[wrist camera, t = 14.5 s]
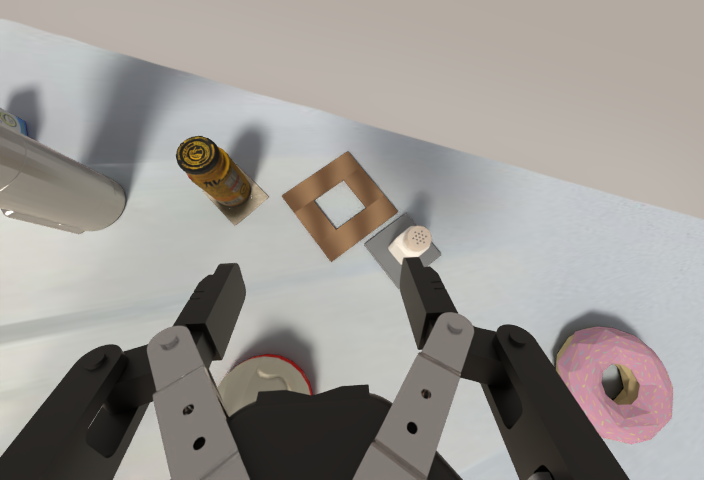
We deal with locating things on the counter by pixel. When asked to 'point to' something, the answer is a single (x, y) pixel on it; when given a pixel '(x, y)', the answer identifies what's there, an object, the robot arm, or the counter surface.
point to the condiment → (219, 178)
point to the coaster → (384, 256)
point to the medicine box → (12, 121)
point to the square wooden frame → (356, 227)
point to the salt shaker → (410, 243)
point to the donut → (637, 375)
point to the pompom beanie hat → (261, 380)
